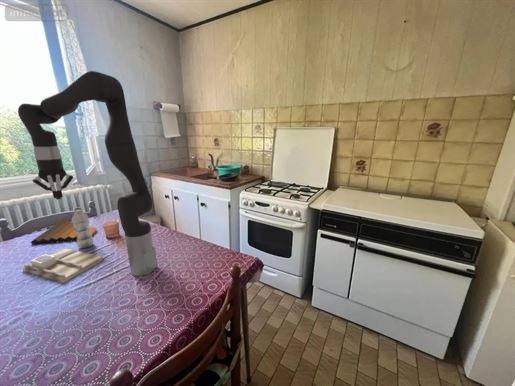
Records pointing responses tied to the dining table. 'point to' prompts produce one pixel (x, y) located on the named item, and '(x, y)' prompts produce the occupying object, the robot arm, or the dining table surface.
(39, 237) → the pan flute
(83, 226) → the plastic bottle
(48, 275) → the board
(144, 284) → the dining table surface
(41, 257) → the cream rectangular block
